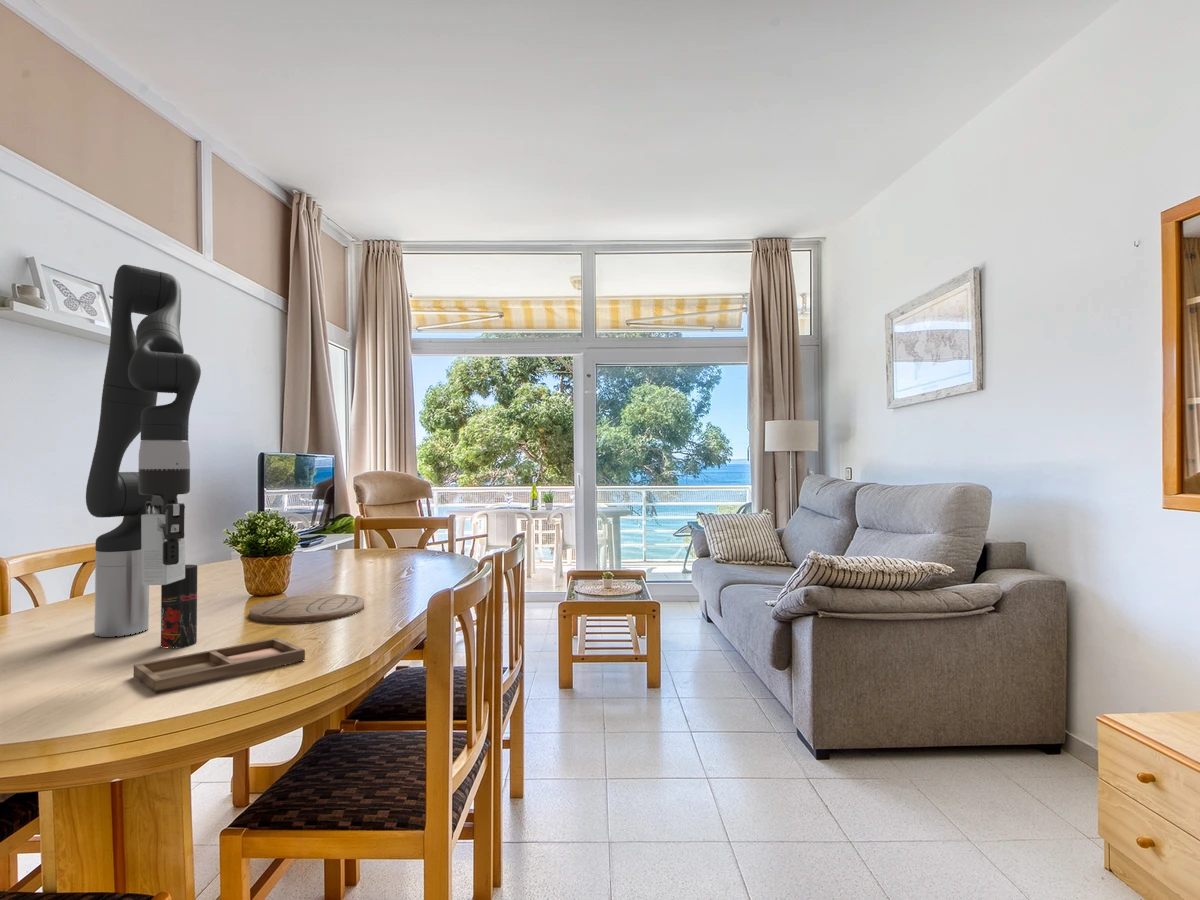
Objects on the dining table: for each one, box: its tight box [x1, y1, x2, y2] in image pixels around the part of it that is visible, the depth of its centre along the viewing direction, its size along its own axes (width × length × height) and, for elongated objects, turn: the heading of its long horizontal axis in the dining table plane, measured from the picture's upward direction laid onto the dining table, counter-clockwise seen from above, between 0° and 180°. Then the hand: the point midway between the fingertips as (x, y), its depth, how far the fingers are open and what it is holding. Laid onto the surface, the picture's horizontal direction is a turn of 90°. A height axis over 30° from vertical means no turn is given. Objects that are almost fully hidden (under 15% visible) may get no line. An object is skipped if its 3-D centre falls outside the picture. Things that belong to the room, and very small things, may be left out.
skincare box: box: [141, 512, 186, 586], centre depth 117 cm, size 6×4×12 cm
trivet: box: [249, 593, 365, 624], centre depth 160 cm, size 25×25×2 cm
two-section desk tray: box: [133, 637, 306, 695], centre depth 116 cm, size 12×23×2 cm, turn 138°
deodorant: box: [160, 564, 198, 649], centre depth 131 cm, size 6×6×15 cm
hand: (164, 562), depth 117 cm, fingers closed on skincare box, 7 cm apart
